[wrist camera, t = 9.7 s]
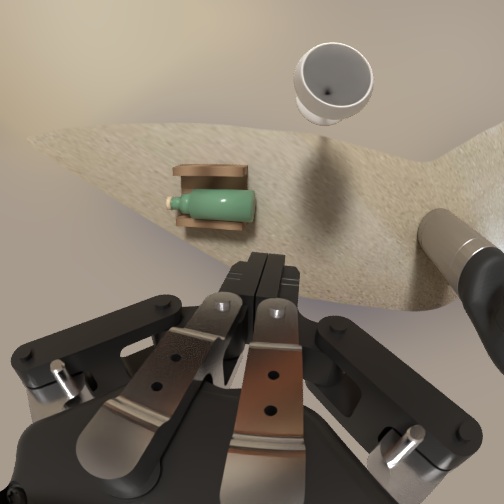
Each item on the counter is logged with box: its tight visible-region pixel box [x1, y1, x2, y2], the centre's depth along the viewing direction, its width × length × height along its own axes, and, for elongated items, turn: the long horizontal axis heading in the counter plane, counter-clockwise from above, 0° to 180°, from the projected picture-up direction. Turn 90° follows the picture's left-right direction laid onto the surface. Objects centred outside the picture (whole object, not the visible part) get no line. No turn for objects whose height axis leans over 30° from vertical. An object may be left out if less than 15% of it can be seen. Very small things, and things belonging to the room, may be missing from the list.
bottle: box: [166, 189, 255, 222], centre depth 46 cm, size 5×5×15 cm
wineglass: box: [294, 43, 374, 126], centre depth 29 cm, size 9×9×21 cm
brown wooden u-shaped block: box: [173, 164, 248, 231], centre depth 47 cm, size 12×10×4 cm
